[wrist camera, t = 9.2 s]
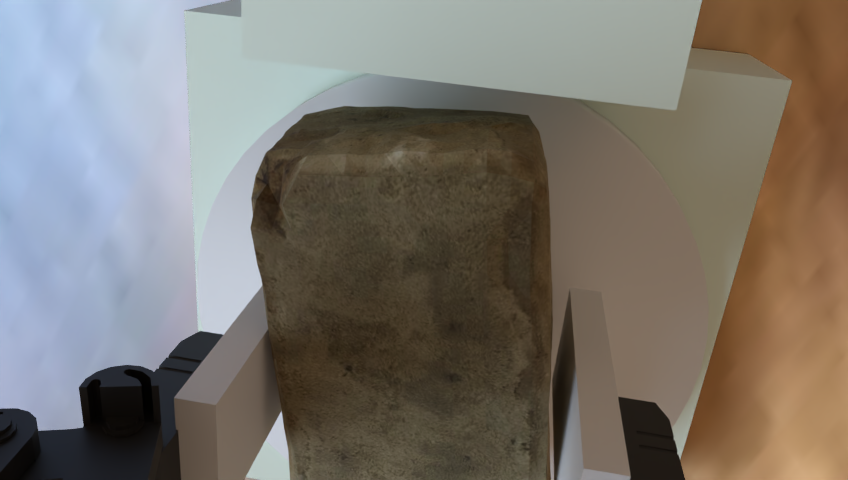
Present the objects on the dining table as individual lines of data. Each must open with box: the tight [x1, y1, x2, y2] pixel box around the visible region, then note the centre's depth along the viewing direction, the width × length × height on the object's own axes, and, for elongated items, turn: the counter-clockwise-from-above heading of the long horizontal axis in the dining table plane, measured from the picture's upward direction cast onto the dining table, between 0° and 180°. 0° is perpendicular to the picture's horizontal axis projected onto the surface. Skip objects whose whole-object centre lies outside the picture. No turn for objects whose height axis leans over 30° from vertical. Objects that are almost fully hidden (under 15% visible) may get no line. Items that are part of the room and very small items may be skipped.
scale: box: [184, 0, 792, 480], centre depth 20 cm, size 18×15×9 cm
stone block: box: [250, 106, 553, 480], centre depth 17 cm, size 6×12×5 cm, turn 5°
